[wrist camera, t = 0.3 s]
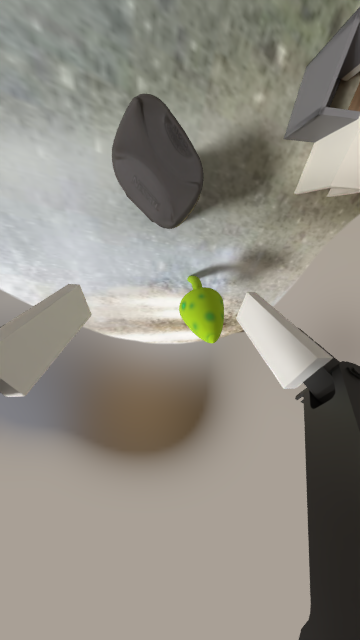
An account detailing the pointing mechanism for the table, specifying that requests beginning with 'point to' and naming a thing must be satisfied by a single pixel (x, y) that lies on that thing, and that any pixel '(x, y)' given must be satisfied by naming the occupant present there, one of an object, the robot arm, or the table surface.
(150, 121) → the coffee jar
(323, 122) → the tunnel
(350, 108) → the rod
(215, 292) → the mushroom
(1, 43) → the table surface
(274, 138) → the table surface
